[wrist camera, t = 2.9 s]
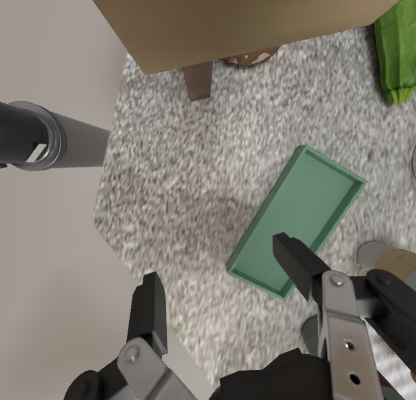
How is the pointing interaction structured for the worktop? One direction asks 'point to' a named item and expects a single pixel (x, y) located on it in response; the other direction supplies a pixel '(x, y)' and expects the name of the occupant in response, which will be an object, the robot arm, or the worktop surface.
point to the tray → (295, 217)
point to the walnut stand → (198, 80)
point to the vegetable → (397, 50)
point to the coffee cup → (389, 261)
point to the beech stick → (226, 26)
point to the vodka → (312, 345)
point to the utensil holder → (414, 162)
